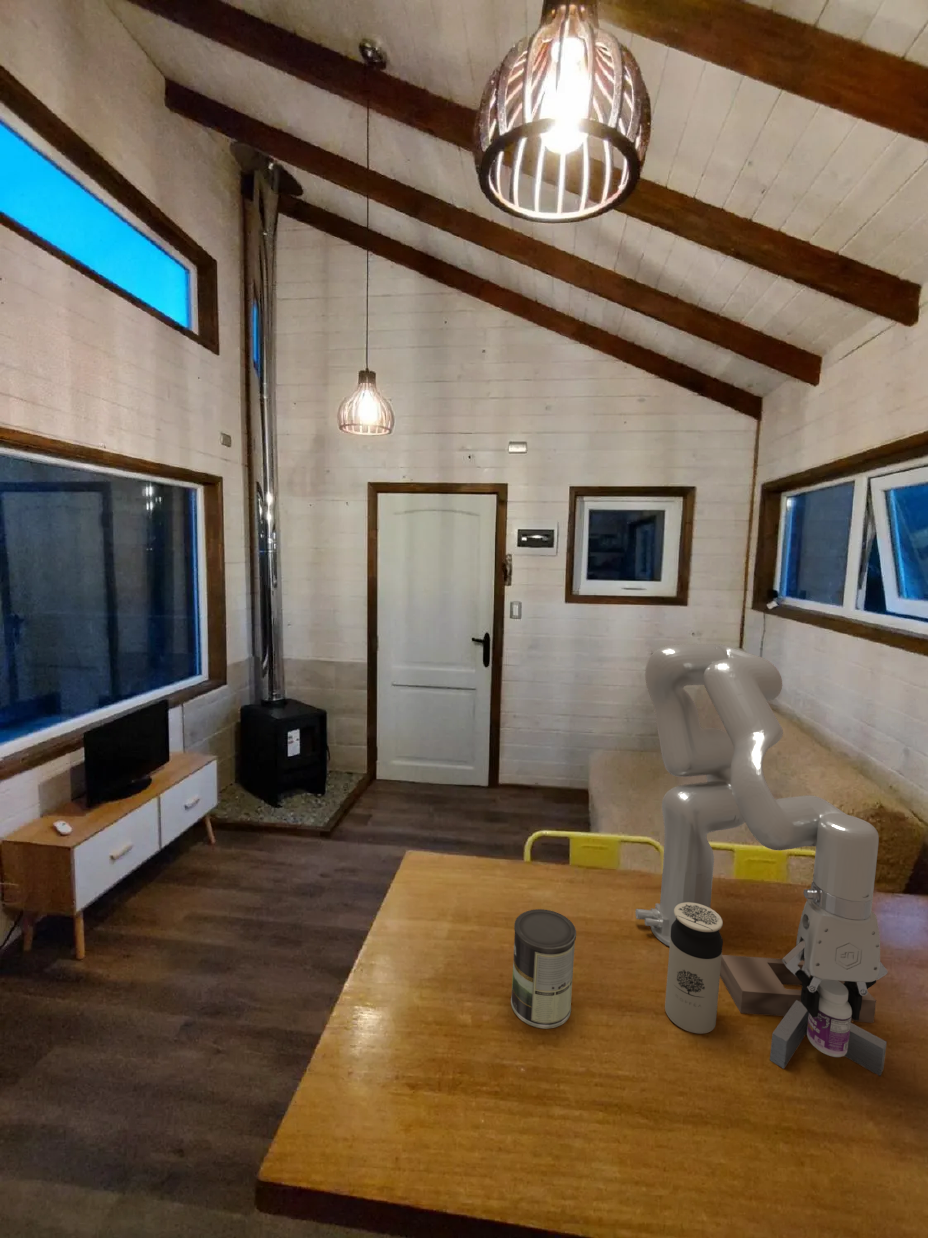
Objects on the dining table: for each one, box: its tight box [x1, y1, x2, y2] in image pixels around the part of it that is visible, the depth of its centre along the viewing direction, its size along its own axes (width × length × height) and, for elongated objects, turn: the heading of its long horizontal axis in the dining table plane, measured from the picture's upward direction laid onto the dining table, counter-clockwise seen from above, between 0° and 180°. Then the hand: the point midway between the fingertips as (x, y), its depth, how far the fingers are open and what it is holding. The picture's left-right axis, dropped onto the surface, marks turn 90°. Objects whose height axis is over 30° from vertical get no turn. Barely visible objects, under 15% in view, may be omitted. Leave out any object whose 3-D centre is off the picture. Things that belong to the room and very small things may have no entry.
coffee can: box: [510, 908, 577, 1030], centre depth 96 cm, size 10×10×14 cm
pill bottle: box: [806, 979, 852, 1058], centre depth 87 cm, size 5×5×10 cm
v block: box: [769, 1000, 888, 1077], centre depth 90 cm, size 17×9×4 cm, turn 87°
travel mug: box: [664, 902, 724, 1034], centre depth 95 cm, size 8×8×18 cm
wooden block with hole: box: [720, 954, 877, 1024], centre depth 100 cm, size 22×9×4 cm, turn 87°
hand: (829, 1010), depth 87 cm, fingers closed on pill bottle, 5 cm apart
